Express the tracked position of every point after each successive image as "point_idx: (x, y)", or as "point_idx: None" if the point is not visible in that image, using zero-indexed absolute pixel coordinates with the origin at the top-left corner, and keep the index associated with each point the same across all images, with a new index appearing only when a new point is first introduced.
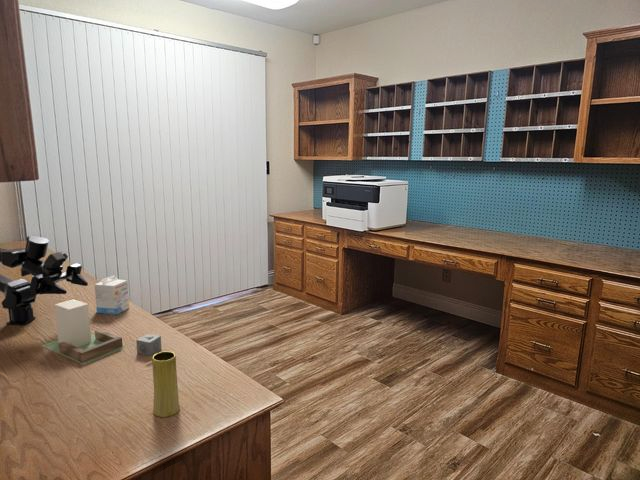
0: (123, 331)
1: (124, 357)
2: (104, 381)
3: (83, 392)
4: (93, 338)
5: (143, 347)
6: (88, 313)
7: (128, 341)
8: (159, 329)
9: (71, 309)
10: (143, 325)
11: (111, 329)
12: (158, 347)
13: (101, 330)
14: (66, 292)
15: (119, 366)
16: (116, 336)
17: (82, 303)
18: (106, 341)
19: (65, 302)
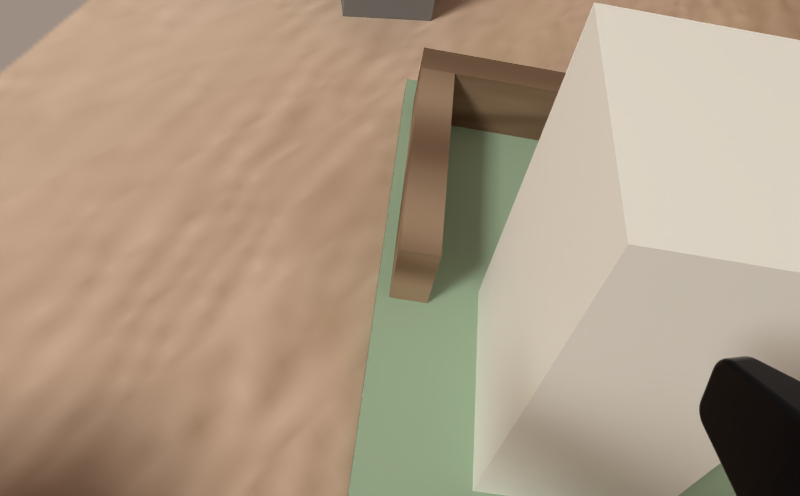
0: (185, 254)
1: (486, 48)
2: (668, 7)
3: (760, 19)
4: (424, 326)
5: None
6: (558, 101)
7: (322, 130)
8: (67, 80)
9: (787, 45)
10: (14, 202)
11: (181, 368)
12: None
13: (410, 214)
14: (709, 380)
15: (558, 23)
16: (428, 79)
17: (629, 49)
18: (515, 84)
19: (779, 230)
